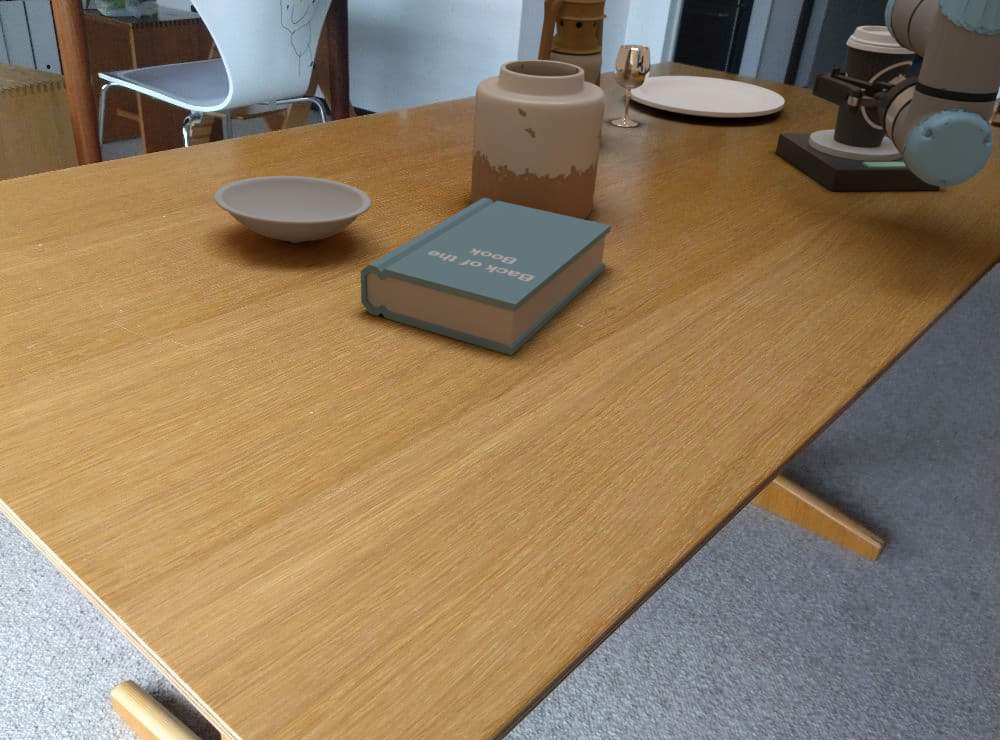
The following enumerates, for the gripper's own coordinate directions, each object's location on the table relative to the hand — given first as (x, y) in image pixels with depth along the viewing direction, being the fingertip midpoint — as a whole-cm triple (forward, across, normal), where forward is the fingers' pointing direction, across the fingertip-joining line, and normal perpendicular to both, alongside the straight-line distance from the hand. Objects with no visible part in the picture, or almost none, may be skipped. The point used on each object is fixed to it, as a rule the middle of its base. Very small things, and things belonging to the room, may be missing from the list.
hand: (887, 77), depth 116 cm
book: (-51, -43, -14) cm, 68 cm away
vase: (-25, -43, -14) cm, 52 cm away
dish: (-45, -66, -14) cm, 81 cm away
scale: (+7, 0, -14) cm, 16 cm away
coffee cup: (+7, 0, -10) cm, 12 cm away
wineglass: (+21, -34, -14) cm, 43 cm away
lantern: (+6, -43, -14) cm, 45 cm away
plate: (+38, -22, -14) cm, 46 cm away
